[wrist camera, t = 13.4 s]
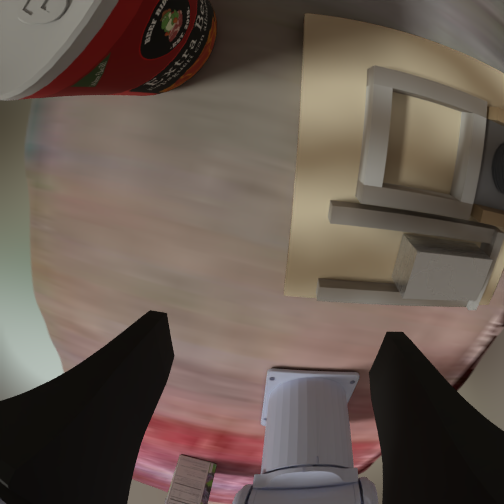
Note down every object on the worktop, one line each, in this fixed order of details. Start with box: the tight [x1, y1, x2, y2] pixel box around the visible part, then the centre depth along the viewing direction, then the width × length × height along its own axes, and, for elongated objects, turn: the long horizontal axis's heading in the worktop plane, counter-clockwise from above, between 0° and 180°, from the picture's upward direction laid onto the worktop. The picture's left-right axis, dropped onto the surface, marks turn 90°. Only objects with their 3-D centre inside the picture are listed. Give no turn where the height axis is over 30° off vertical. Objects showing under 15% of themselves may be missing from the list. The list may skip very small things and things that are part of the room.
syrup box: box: [165, 455, 217, 504], centre depth 30 cm, size 6×6×14 cm
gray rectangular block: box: [392, 234, 493, 301], centre depth 15 cm, size 3×6×2 cm, turn 88°
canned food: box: [0, 0, 217, 100], centre depth 8 cm, size 8×8×11 cm
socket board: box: [284, 13, 504, 310], centre depth 14 cm, size 17×17×3 cm
